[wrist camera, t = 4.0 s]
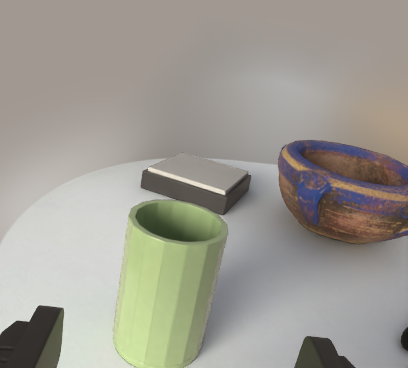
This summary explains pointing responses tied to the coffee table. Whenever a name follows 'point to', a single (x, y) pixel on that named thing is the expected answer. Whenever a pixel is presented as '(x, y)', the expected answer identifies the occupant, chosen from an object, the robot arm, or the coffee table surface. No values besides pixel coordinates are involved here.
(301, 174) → the bowl
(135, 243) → the light green cup
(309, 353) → the robot arm
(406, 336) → the game controller
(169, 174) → the kitchen scale
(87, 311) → the coffee table surface
